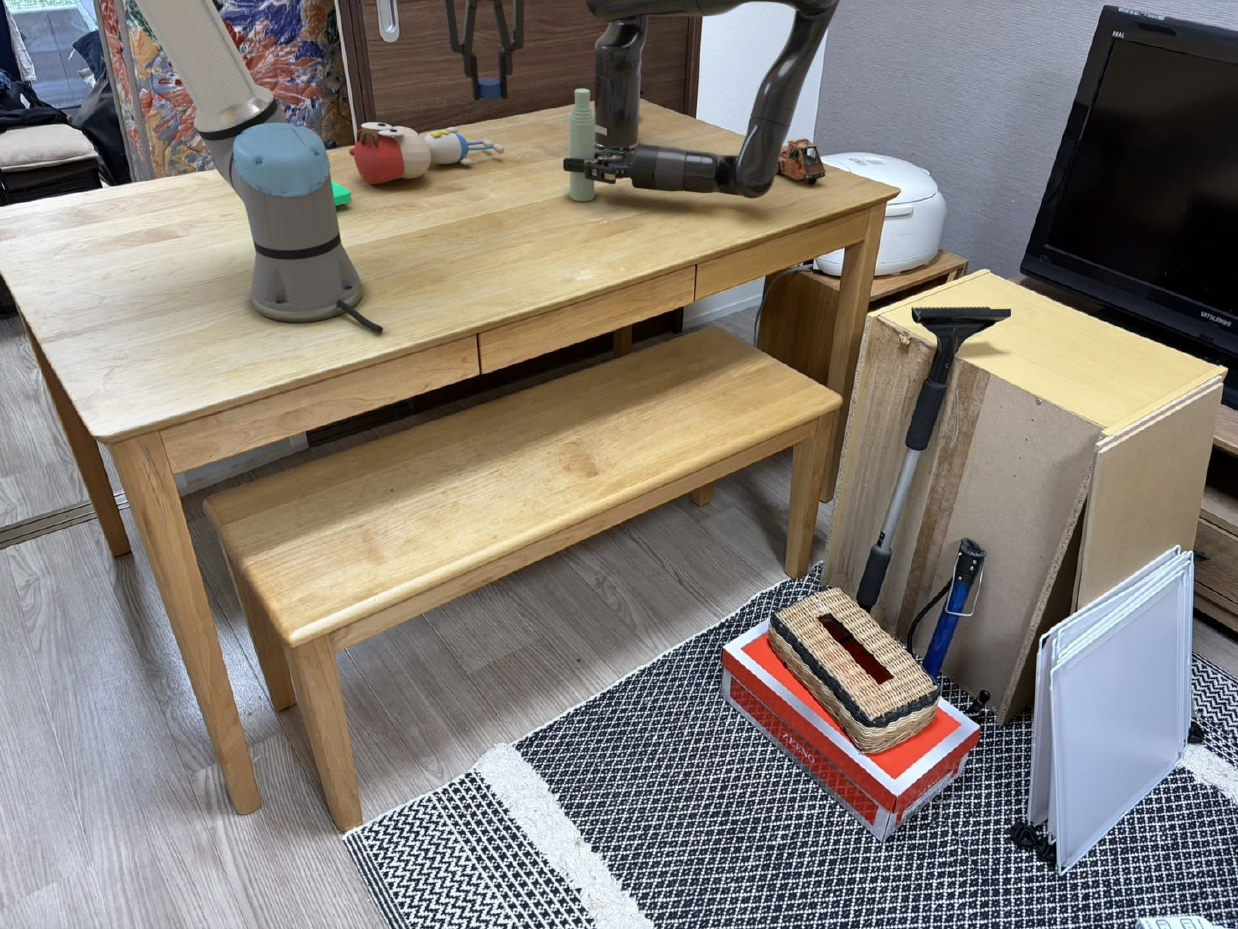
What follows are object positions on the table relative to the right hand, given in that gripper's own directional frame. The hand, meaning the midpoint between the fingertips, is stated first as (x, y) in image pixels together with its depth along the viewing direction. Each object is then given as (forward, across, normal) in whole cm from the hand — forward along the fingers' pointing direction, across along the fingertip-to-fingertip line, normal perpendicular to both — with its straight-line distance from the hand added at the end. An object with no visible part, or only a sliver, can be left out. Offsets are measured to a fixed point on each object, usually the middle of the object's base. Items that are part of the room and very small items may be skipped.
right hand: (567, 159), depth 166 cm
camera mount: (+42, +15, +7) cm, 45 cm away
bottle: (-3, 0, +7) cm, 7 cm away
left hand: (+9, +15, -14) cm, 22 cm away
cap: (+9, +15, -16) cm, 24 cm away
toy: (+29, -6, +7) cm, 30 cm away
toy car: (-41, -21, +7) cm, 46 cm away
